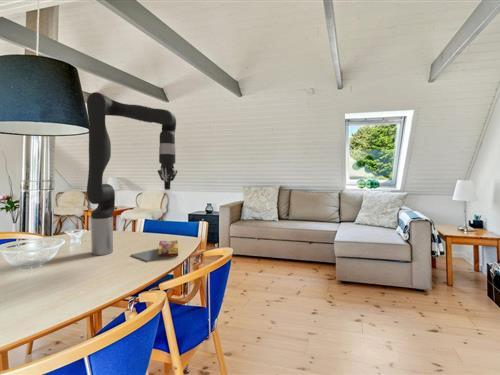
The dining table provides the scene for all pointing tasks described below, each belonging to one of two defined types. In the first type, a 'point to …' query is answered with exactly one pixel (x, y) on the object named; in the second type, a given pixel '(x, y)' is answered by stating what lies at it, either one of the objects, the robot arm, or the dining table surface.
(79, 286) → the dining table surface
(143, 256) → the rubber mat
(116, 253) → the dining table surface
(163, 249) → the candy box
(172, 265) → the dining table surface
